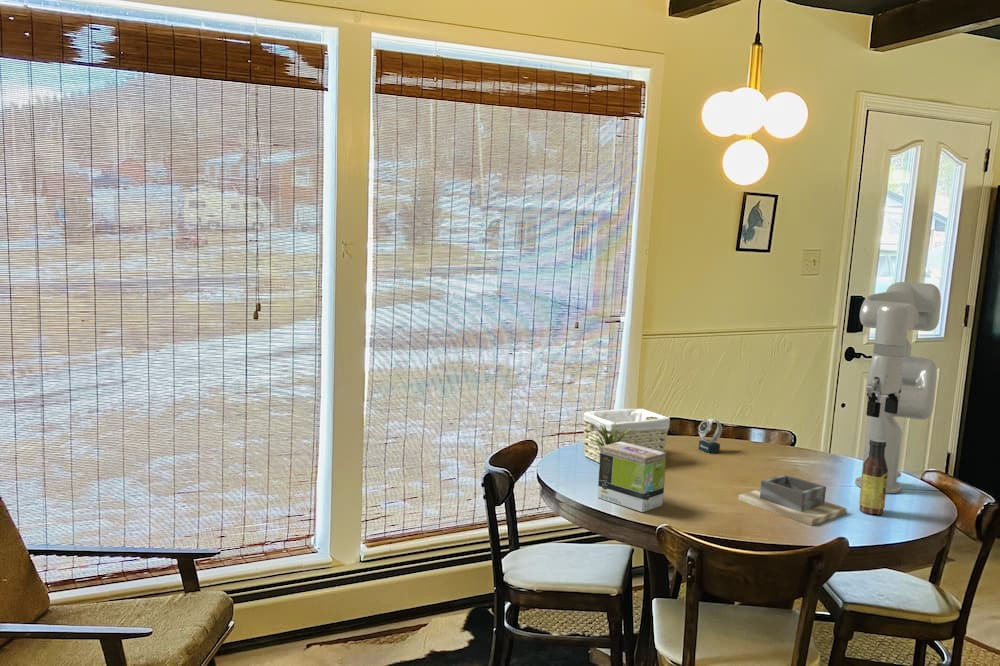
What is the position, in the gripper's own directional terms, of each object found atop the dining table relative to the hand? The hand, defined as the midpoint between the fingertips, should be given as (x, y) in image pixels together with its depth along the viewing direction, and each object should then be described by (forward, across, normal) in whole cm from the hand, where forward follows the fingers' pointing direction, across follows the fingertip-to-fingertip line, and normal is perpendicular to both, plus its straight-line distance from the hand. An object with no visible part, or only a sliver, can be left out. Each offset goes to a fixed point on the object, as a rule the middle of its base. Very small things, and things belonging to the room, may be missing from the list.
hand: (881, 414), depth 214 cm
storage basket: (+27, +23, -69) cm, 78 cm away
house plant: (+27, +41, -60) cm, 77 cm away
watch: (+27, -10, -61) cm, 68 cm away
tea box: (+28, +52, -40) cm, 71 cm away
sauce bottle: (+27, 0, 0) cm, 27 cm away
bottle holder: (+27, +16, -14) cm, 34 cm away
